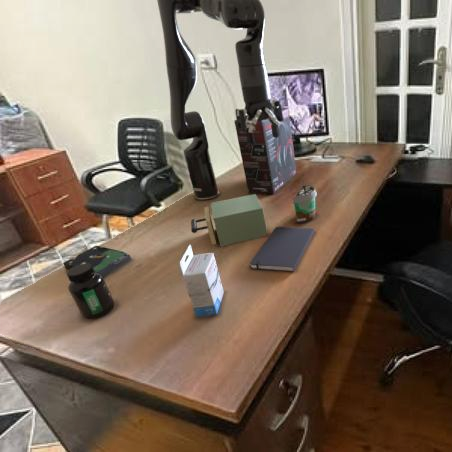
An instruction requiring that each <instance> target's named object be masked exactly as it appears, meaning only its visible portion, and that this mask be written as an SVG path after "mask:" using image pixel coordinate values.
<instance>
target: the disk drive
mask: <svg viewBox="0 0 452 452" xmlns="http://www.w3.org/2000/svg"><path fill="white" fill-rule="evenodd" d="M131 260H132V258H131V255H130V254H128V253H127V252H125V251H122V250H117V249H114V248H109V247H106V246H101V245H94V246H92V247H90V248H89V249H87V250H85V251H83V252H81V253H79V254H78V255H76V257H75V258H70V259H67V260H66V261H64V262H63V266H64V268H65V270H66V271H69V270H70V269H71V268H73V267H75V266H77V265H81V264H91V265H92V267H93V269H94V271H95V272H96V273H99V274H101V275H102V276H103V278H105V277H107V276H109V275H110V274H111V273H113V272H115V271H117V270H119V268H121V267H123V266H125V265H126V264H128V263H129V262H130V261H131Z"/></svg>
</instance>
